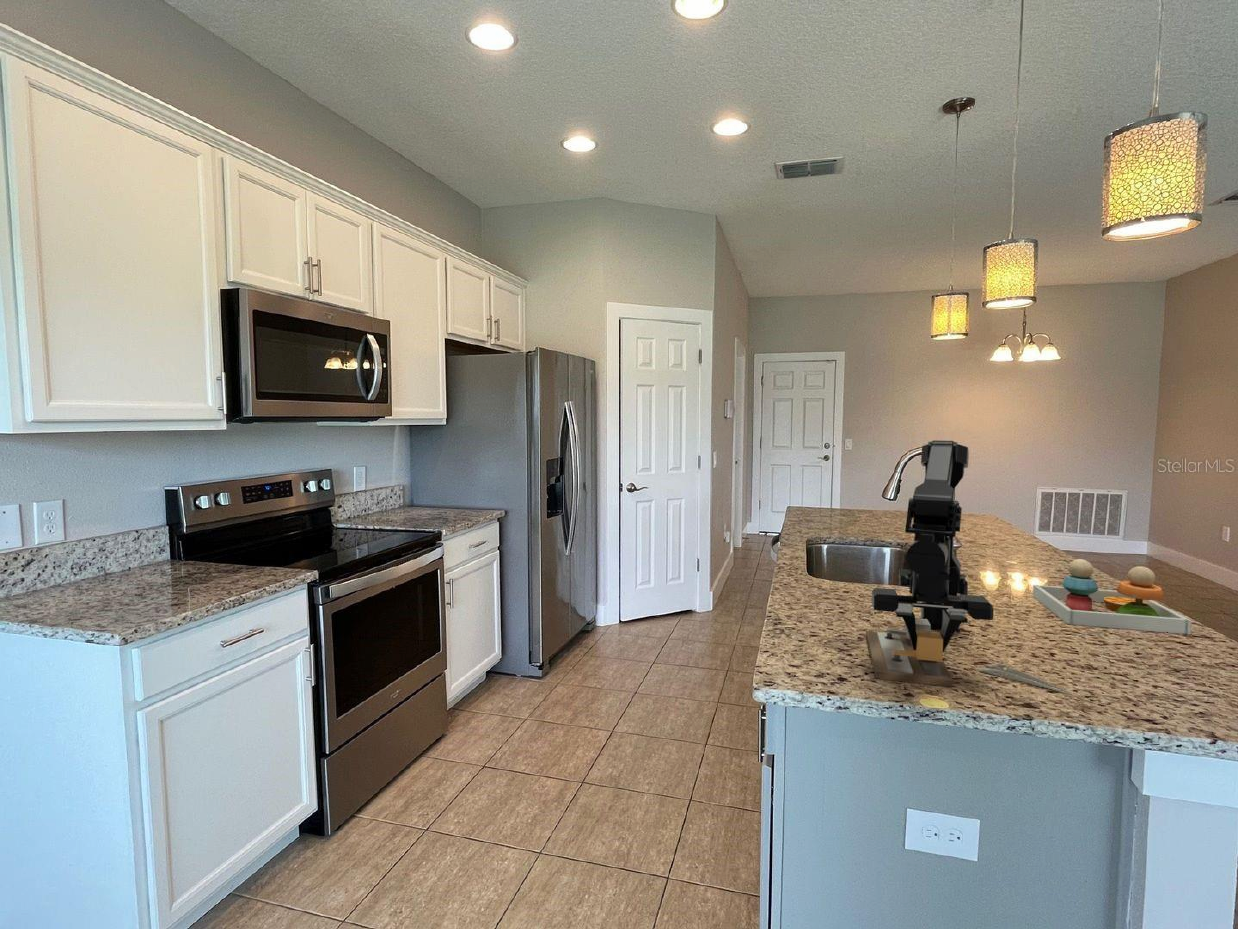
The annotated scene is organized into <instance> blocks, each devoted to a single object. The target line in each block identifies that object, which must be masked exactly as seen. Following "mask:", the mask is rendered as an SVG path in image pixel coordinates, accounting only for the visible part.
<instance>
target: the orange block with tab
mask: <svg viewBox="0 0 1238 929" xmlns="http://www.w3.org/2000/svg"><path fill="white" fill-rule="evenodd" d="M916 638H917V645H916V650H914V651H905V650H895V649H894V658H895V659H900V655H903V656H913V657H916V658H917V659H919V660H928V661H938V662H942V660H943V656H944V652H943V638H942V637H941V632H940V631H932V630H931V631H922V630H916Z"/></svg>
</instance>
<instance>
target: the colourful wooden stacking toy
mask: <svg viewBox="0 0 1238 929" xmlns="http://www.w3.org/2000/svg"><path fill="white" fill-rule="evenodd" d="M1068 572H1069V575H1066V576H1065V578H1064V579H1063V581H1062V584H1061V587H1064V588H1065V589H1066V590H1067V591H1069V592H1071V593H1069V594H1068V595H1067V599H1066V600H1065V601H1066V602H1065V605H1066V606H1067V607H1069V608H1070V609H1071V610H1080V611H1093V602H1092V598H1090V597H1089V595H1090V594H1093V593H1095V592H1096V591H1097V590H1098V589H1099V587H1098V584H1097V582H1096V580H1095V578H1093V577H1092V575H1093V574H1094V566H1093V565H1092V563H1091V562H1089V561H1087V560H1085V559H1084V558H1083V559H1082V558H1077V559H1074V560H1072V561H1071V562H1069V565H1068ZM1127 578H1128V579H1127V580H1122V581H1120V582H1119V584H1118V585H1117V588H1116V591H1117V592H1118V593H1120V594H1122V595H1125V596H1129V597H1133V598H1136V599H1130V598H1123V597H1104V598H1103V599H1104V606H1105V608H1106V607H1107V608H1108V610H1110V611H1114V612H1116V613H1118V614H1131V615H1143V616H1156V617H1160V616H1159V614H1158V613H1157V612H1156V611H1155V610H1154V609H1153V608H1152V607H1150V606H1149V605H1148V604H1146V603H1144V602H1143V600H1153V601H1161V600H1164V595H1165V594H1164V591H1163V589H1162V588H1161V587H1160V586H1158V585H1155V584H1154V583H1155V582H1156V575H1155V573H1154V572H1153V570H1151V569H1150V568H1148V567H1146V566H1135V567H1132V568H1130V569H1129V571H1128V573H1127ZM1107 608H1106V609H1107Z"/></svg>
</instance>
